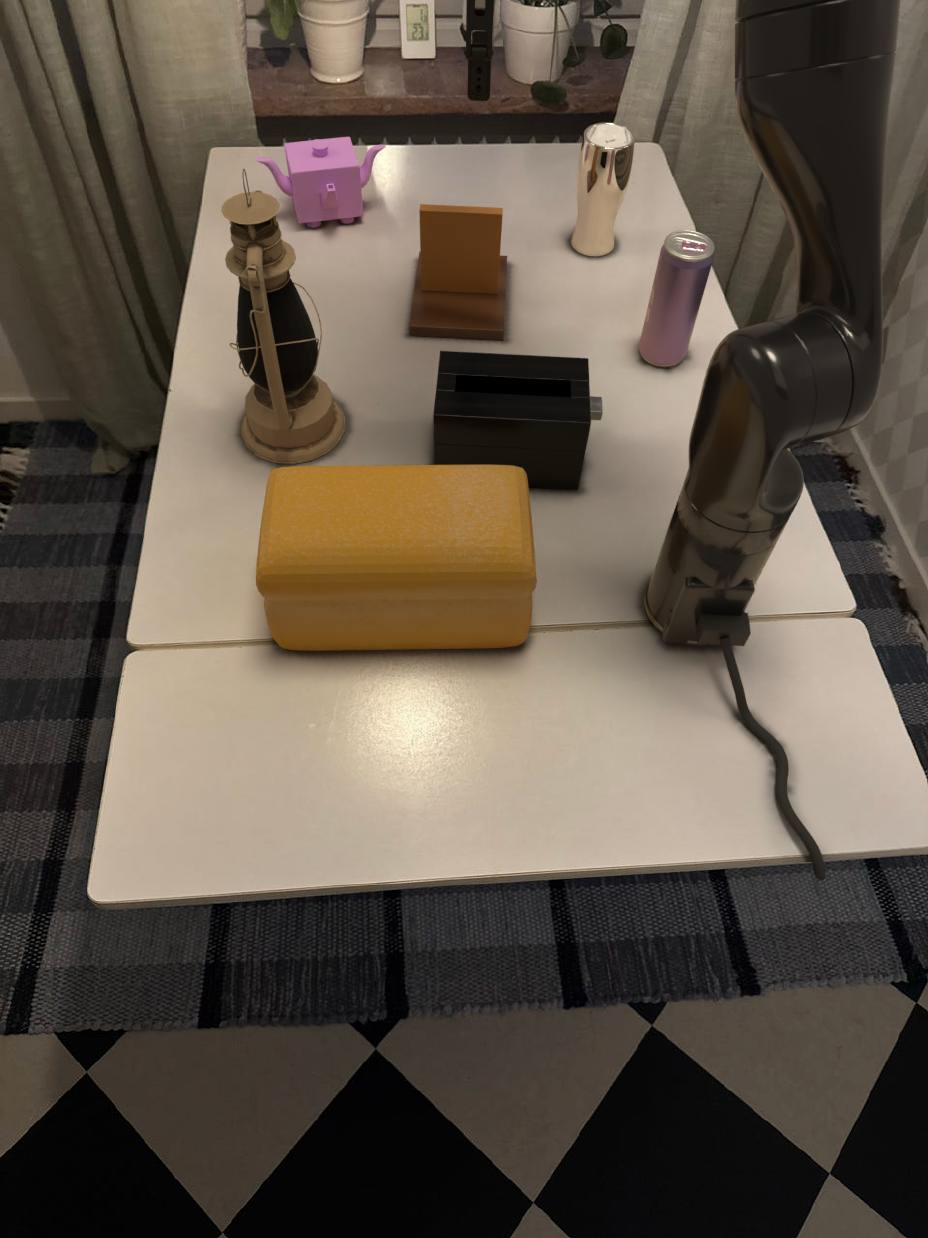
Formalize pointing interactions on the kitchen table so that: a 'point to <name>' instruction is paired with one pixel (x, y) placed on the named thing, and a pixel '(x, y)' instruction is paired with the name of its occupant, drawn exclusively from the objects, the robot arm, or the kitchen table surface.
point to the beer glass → (601, 185)
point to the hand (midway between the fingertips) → (480, 79)
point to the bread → (397, 557)
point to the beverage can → (676, 297)
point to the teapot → (324, 179)
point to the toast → (460, 248)
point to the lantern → (276, 341)
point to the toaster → (515, 414)
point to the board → (459, 311)
